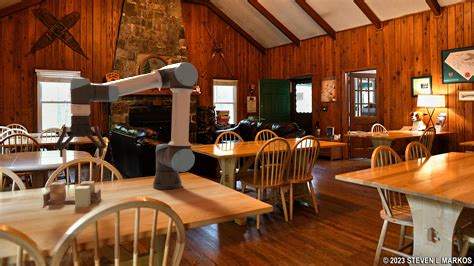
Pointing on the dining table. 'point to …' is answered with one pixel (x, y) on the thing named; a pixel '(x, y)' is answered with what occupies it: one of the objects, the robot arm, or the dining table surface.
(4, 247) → the dining table surface
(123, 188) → the dining table surface
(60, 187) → the cradle
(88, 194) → the beige rectangular block
